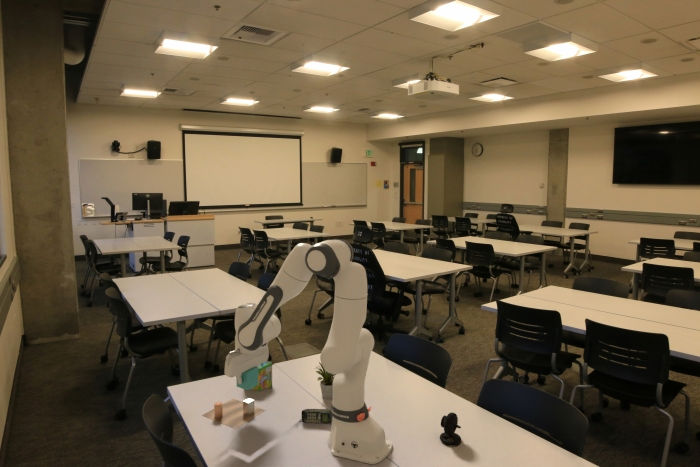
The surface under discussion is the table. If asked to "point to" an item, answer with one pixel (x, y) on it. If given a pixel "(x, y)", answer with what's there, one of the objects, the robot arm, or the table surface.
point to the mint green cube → (249, 379)
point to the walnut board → (233, 414)
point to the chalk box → (264, 376)
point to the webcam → (450, 429)
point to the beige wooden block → (248, 406)
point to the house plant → (326, 383)
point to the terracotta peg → (218, 410)
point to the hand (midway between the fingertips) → (247, 379)
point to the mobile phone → (317, 416)
